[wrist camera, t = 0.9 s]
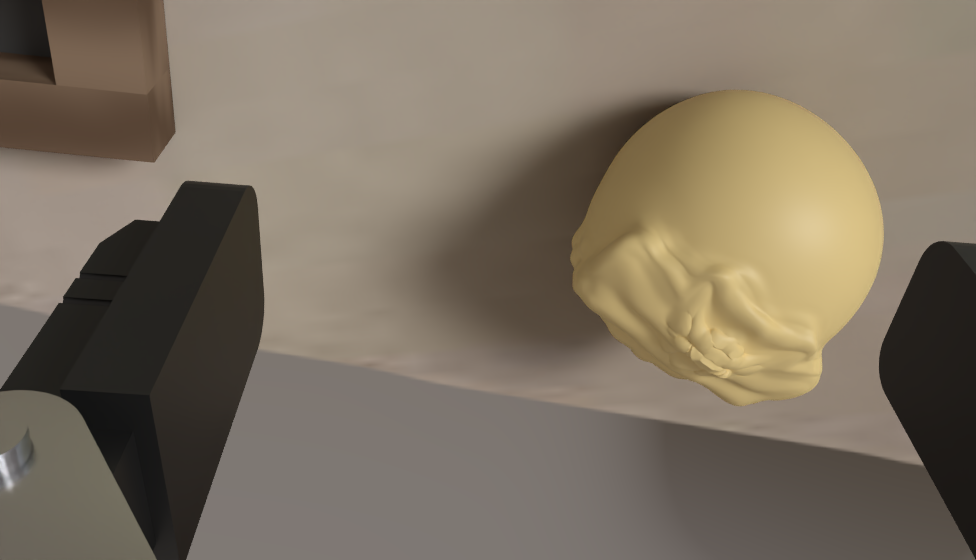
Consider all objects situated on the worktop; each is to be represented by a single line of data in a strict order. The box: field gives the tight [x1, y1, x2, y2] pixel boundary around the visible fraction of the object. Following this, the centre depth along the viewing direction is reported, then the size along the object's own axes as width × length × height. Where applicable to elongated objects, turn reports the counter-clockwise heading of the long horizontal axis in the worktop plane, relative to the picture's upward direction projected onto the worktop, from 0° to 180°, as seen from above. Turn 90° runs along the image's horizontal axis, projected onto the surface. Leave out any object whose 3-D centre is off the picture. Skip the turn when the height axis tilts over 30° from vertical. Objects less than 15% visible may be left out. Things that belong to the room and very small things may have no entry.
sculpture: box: [570, 90, 884, 406], centre depth 36 cm, size 11×12×11 cm
